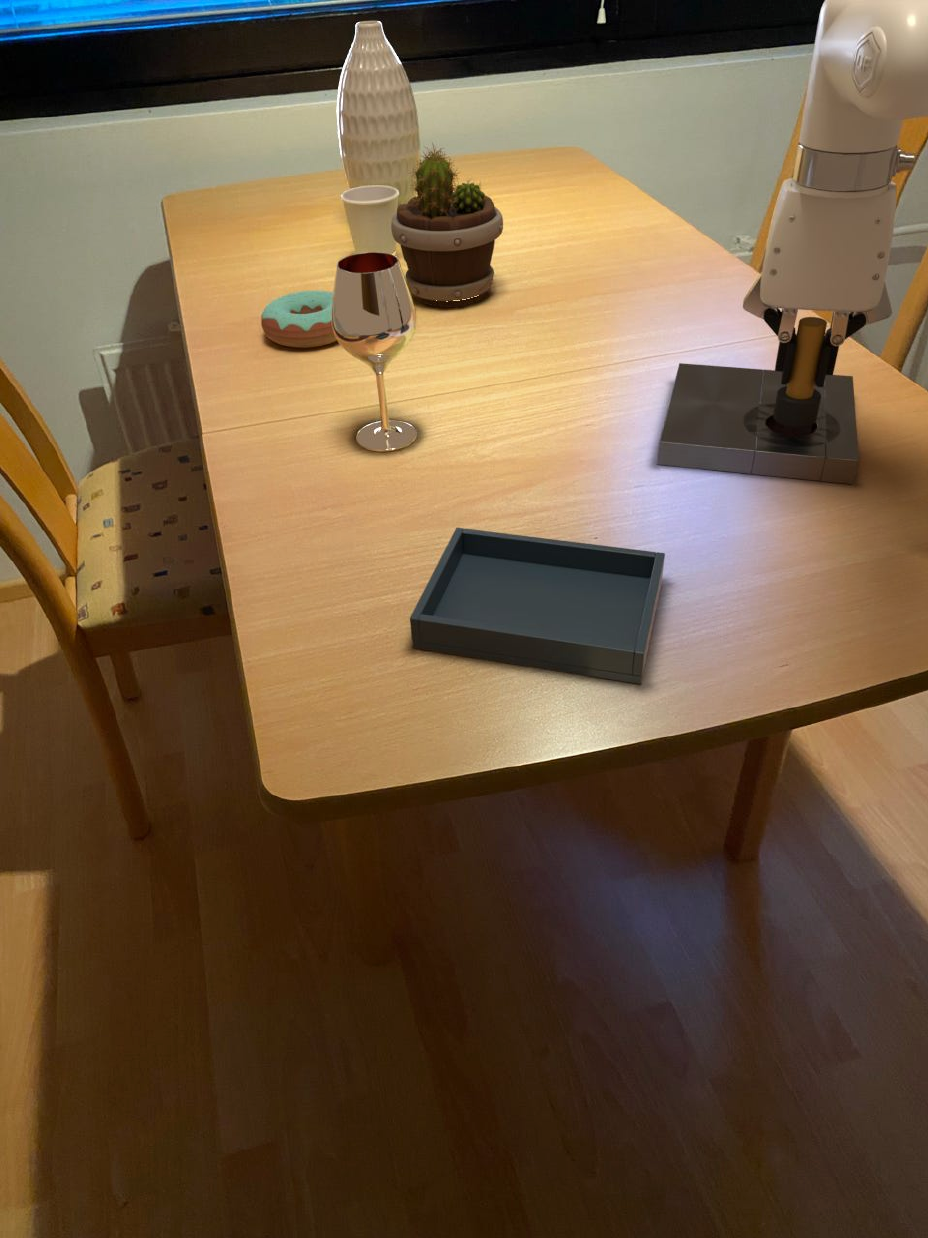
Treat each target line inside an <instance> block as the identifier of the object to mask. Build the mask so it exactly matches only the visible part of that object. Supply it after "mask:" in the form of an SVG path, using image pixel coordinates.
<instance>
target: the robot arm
mask: <svg viewBox="0 0 928 1238" xmlns="http://www.w3.org/2000/svg"><path fill="white" fill-rule="evenodd" d="M818 16H819V17H818V21H817V27H816V33H815V38H814V39H815V40H814V45H813V52H812V58H811V64H810V71H809V76H808V82H807V83H808V84H807V88H806V94H805V100H804V101H805V102H804V106H803V107H804V108H803V113H802V120H801V126H800V133H799V138H798V143H797V148H796V149H797V151H796V156H795V163H794V169H793V174H792V175H793V176H792V177H789V178H786V179H785V180H783V182H782V184H781V186H780V189H779V193H778V196H777V199H776V202H775V205H774V209H773V211H772V212H773V213H772V216H771V220H770V224H769V230H768V235H767V240H766V244H765V249H764V253H763V260H762V265H761V271H760V272H759V275H758V276H757V278H756V279H755V281H754V283H753V284H752V286H751V287H750V289H749V290H748V291H747V293H746V295H745V297H744V298H743V301H742V308H743V310H744V311H745V312H747V313H749V314H751V315H753V316H754V317H757V318H759V319H762V320H763V321H764V322H765V324H766V325H767V326H768V327H769V328H770V330H771V331H772V332H773V333H774V335H776V336H777V340H778V341H779V342H778V348H777V352H776V359H775V366H774V370H775V371H778V372H782V375H781V384H785V385H787V383H789V382H790V376H791V371H792V365H793V360H794V355H795V349H796V336H797V333H796V327H795V325H796V320H797V316H798V312H799V310H800V311H802V310H803V311H821V312H832V313H831V320H830V324H829V328H828V329H826V331H825V336H824V341H823V344H822V349H821V354H820V359H819V364H818V369H817V374H816V379H815V385H817V387H823V386H824V381H825V376H826V375H834V373H835V367H836V364H837V363H836V362H837V358H838V354H839V349H840V346H842V345H843V344H844V343H845V341H846V340H847V339H849V338H850V337H851V336H853V335H854V334H856V333H857V332H858V331H860V330H861V329H863V328H864V327H865V326H866V325H871V324H874V323H878V322H880V321H884V320H887V319H889V318H890V317H891V316H892V314H893V307H892V303H891V300H890V296H889V292H888V288H887V285H886V278H887V272H888V267H889V261H890V255H891V249H892V243H893V237H894V229H895V228H894V227H895V217H896V208H897V200H898V199H897V197H898V196H897V194H898V190H897V189H898V188H897V187H898V186H897V183H896V182H894V181H892V179H893V177H896V176H897V175H896V174H902V172H912V170H913V167H914V163H915V158H916V153H915V152H906V151H905V150H902V149H901V147H900V146H898V144H899V141H900V137H901V131H902V128H903V123H904V120H911V119H918V118H925V117H928V0H824V1H823V3H822V6H821V7H820V12H819V15H818Z"/></svg>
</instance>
